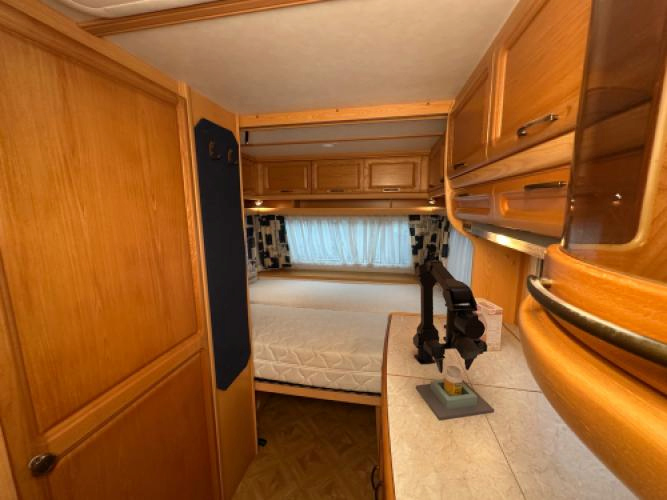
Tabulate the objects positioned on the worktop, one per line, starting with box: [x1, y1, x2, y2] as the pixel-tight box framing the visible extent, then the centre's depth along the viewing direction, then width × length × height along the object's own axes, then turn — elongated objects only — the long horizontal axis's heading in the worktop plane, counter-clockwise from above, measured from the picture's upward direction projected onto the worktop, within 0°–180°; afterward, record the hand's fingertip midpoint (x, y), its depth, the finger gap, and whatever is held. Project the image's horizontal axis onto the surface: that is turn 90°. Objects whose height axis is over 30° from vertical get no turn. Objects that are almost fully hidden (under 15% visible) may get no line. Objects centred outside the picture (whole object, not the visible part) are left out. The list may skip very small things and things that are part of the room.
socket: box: [415, 378, 495, 421], centre depth 88 cm, size 15×18×4 cm
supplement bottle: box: [443, 365, 463, 397], centre depth 88 cm, size 5×5×10 cm
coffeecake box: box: [468, 297, 504, 352], centre depth 124 cm, size 15×7×20 cm, turn 4°
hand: (453, 371), depth 87 cm, fingers open, 9 cm apart
